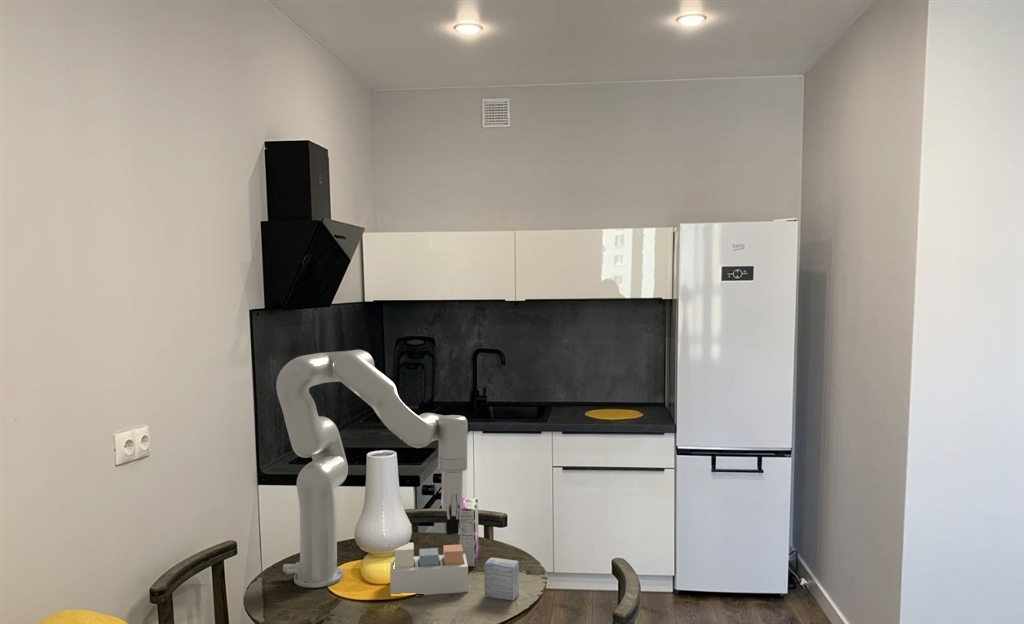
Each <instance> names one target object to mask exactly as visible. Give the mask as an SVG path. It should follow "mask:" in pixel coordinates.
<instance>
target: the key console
mask: <svg viewBox="0 0 1024 624" xmlns="http://www.w3.org/2000/svg"><path fill="white" fill-rule="evenodd" d="M394 562H395V559H393V560H391V559H390V568H389V569H390V570H389V575H390V576H389V592H390V593H389V595H391V594H401V593H418V594H424V596H428V595H442V594H443V595H445V594H455V593H456V594H459V593H469V567H468V564H467V560H466V556H465V554H463V564H460V565H444V566H443V554H439V566H428V567H419V555H418V556H416V555H414V567H412V568H395V569H393V565H394Z"/></svg>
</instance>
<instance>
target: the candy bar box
mask: <svg viewBox="0 0 1024 624" xmlns="http://www.w3.org/2000/svg"><path fill="white" fill-rule="evenodd" d="M458 518H459V533H458V538H459V539H458V540H459V541H458V545H459V544H462V548H463V554H465V556H466V560H467V564H468V568H469V567H471V568H472V567H473V568H474V567H476V566H477V562H478V556H479V552H480V551H479V550H480V549H479V498H478V497H462V508H461V509H460V510H459V509H458Z"/></svg>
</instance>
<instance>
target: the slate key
mask: <svg viewBox="0 0 1024 624" xmlns="http://www.w3.org/2000/svg"><path fill="white" fill-rule="evenodd" d="M418 550H419V553H418V554H419V555H418V556H419V567H428V566H439V555H440V554H439V548H438V547H431V548H419V549H418Z"/></svg>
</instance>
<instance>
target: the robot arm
mask: <svg viewBox="0 0 1024 624" xmlns="http://www.w3.org/2000/svg"><path fill="white" fill-rule="evenodd" d="M335 382H341V384H343V385H344V386H345V387H347V388H348V390H350V391H352V392H353V393H354V394H355V395H357V396H358V397H359V398H361V400H362V401H364V402H365V403H367V405H369V406H370V407H371V409H373V411H374V412H375V414H376V415H377V416H378V418H379V420H380V421H381V422H382V424H384V426H385V427H387V428H386V429H388V430H389V431H390V432H391V433H393V434H394V435H395V436H396V437H397V438H399V439H400V440H401V441H403V442H404V443H405V444H407V445H408V446H410V447H413V448H416V449H420V448H424V447H427V446H428V445H429V444H431V443H432V442H434V441H437V442H438V459H437V461H438V465H437V466H438V468H437V469H438V471H440V472H441V493H440V495H441V497H440V498H441V499H440V501H441V502H440V503H441V508H442V510H443V511H445V512H446V518H445V531H446V532H445V534H446V535H459V510H460V509H461V508H462V498H463V487H464V486H463V483H464V482H463V481H464V478H463V475H464V472H465V471H467V470H468V432H469V431H468V419H467V418H466V417H465V416H464V415H457V414H449V415H443V414H437V413H432V412H423V413H420V414H419V415H418V414H416V413H415V412H414V411H412V410H411V409H410V408H409V407H408V406H407V405H406V404H405V403H404V402H403V401H402V399H401V398H400V396H399V394H398V390H397V386H396V384H395V383H394V382H393V380H391V379H390V378H389V377H388V376H386V375H385V374H384V373H383V372H381V371H380V370H378V369H377V367H375V360H374V358H373V357H372V355H371V354H370V353H369V352H368V351H365V350H363V349H353V350H343V351H342V350H341V351H330V352H317V353H311V354H305V355H300V356H297V357H295V358H293V359H291V360H289V362H287V363H286V364H285V365H284V366H283V367H282V369H280V371H279V374H278V376H277V378H276V388H275V389H276V394H277V397H278V398H277V399H278V400H279V404H280V408H281V409H282V414H283V418H284V422H285V425H286V429H287V433H288V436H289V441H290V444H291V447H292V450H293V452H294V453H295V455H297V456H298V457H300V458H304V459H305V458H308V459H309V458H311V459H312V461H310V462H308V463H307V464H306V465H304V467H303V468H302V469H301V470H300V471H299V473H298V475H297V478H296V491H297V496H298V498H297V499H298V503H299V504H298V505H299V561H298V562H297V561H296V562H295V563H284V564H283V567H282V572H283V573H285V574H286V575H293V574H294V576H293V582H294V584H296V585H297V586H299V587H301V588H308V589H313V588H315V589H316V588H323V587H327V586H331V585H334V584H335V583H339V581H340V580H342V578H343V576H344V571H343V569H342V568H341V567H340V566H338V517H337V514H338V511H337V503H336V497H335V489H336V488H338V487H339V486H341V485H342V484H343V483H344V482H345V480H346V479H347V476H348V474H349V466H348V461H347V457H346V453H345V448H344V446H343V442H342V438H341V435H340V431H339V429H338V427H337V425H336V423H335V422H334V421H333V420H331V419H330V418H328V417H326V416H319V414H318V410H317V405H316V402H315V400H314V398H313V397H312V395H311V392H310V388H311V387H314V386H317V385H321V384H326V383H335Z"/></svg>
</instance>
